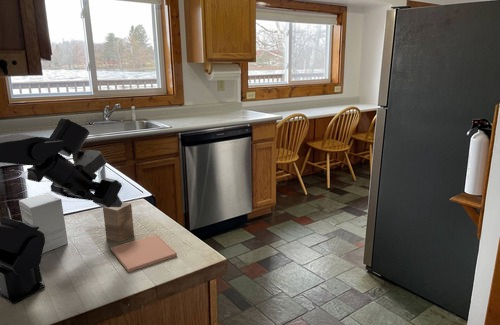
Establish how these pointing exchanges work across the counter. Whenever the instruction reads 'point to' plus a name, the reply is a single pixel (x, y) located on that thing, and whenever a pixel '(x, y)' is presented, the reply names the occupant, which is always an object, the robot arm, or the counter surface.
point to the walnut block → (118, 222)
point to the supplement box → (46, 218)
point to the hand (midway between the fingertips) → (107, 201)
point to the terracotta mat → (143, 252)
